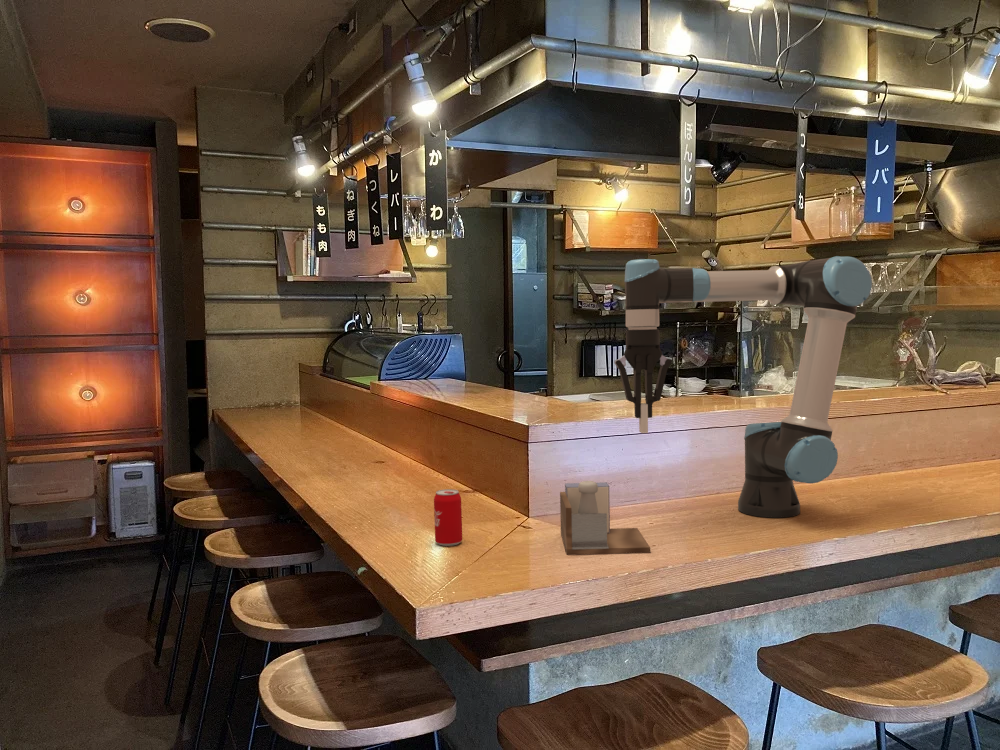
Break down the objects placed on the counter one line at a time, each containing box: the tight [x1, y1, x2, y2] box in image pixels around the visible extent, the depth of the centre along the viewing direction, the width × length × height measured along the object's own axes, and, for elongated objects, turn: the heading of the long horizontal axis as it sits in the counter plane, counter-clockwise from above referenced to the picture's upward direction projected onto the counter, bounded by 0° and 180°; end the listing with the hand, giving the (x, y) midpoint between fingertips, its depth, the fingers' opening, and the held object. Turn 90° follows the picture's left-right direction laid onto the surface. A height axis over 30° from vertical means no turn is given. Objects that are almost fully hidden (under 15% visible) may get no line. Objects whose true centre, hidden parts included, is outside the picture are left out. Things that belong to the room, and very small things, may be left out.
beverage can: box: [433, 488, 463, 547], centre depth 181 cm, size 6×6×12 cm
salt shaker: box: [578, 480, 598, 513], centre depth 177 cm, size 6×6×13 cm
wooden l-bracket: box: [559, 491, 651, 556], centre depth 178 cm, size 18×16×10 cm
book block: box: [564, 481, 611, 533], centre depth 184 cm, size 10×4×11 cm, turn 90°
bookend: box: [572, 513, 609, 549], centre depth 171 cm, size 8×3×7 cm, turn 90°
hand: (643, 432), depth 181 cm, fingers closed
